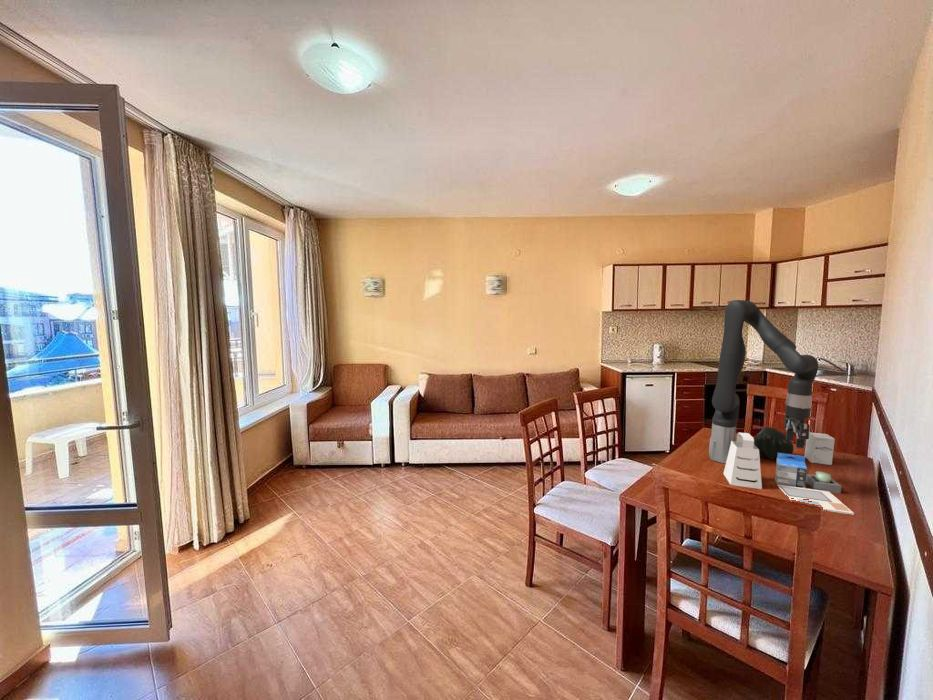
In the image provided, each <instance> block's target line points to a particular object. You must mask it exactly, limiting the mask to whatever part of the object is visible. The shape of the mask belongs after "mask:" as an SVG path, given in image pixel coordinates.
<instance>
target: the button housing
mask: <svg viewBox="0 0 933 700" xmlns="http://www.w3.org/2000/svg"><path fill="white" fill-rule="evenodd" d="M806 485H808V486H809V487H810V488H811V489H815V490H822V491H829V492H830V493H835V494H841V493H842V485H841V484H840V483H838V482H837V481H835V479H833V478H832V477H831V480H830V483H823V482H817V481H816V480H815V474H808V473H807V477H806Z"/></svg>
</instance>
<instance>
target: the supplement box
mask: <svg viewBox="0 0 933 700" xmlns="http://www.w3.org/2000/svg"><path fill="white" fill-rule="evenodd" d="M835 441H836V440H835V438H834V437H832V436H831V435H829V434H827V433H818V432H810V431H809V439H805V447H804V448H805V450H804V456H805V460H806V459H807V460H808V462H810V463H811V464H812V463H813V464H821V465H828V466H829V465H830V466H831V465H833V457H834V449H835V448H834V447H835Z"/></svg>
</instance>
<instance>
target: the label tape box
mask: <svg viewBox="0 0 933 700" xmlns="http://www.w3.org/2000/svg"><path fill="white" fill-rule="evenodd" d="M786 457H788V458H786ZM807 474H808V467H807V464H806V458H805V455H804V456H803V455H796V454H792V455H791V454H784V453H778V455H777V458H776V464H775V478H774V480H775V483H776V484H777V485H785V486H792V487H800V488H807V487H806V486H807V483H806V477H807Z"/></svg>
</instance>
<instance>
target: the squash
mask: <svg viewBox="0 0 933 700" xmlns="http://www.w3.org/2000/svg"><path fill="white" fill-rule="evenodd" d="M753 438H754V445H755V446H756V447H757V448H758V449H759V456H761V457H763V458H768V459H769V460H775V459H777V455H778V453H784V454H791V455H793V453H794V444H793V442H792V441H790V440H787V439H786V433H783V432H781V431H779V430H777V429H775V428H773V427H771V426H765V427H763V428H762V429H761V430H760V431H759V432H758V433H756V435H754V437H753ZM786 458H789V457H786Z"/></svg>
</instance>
